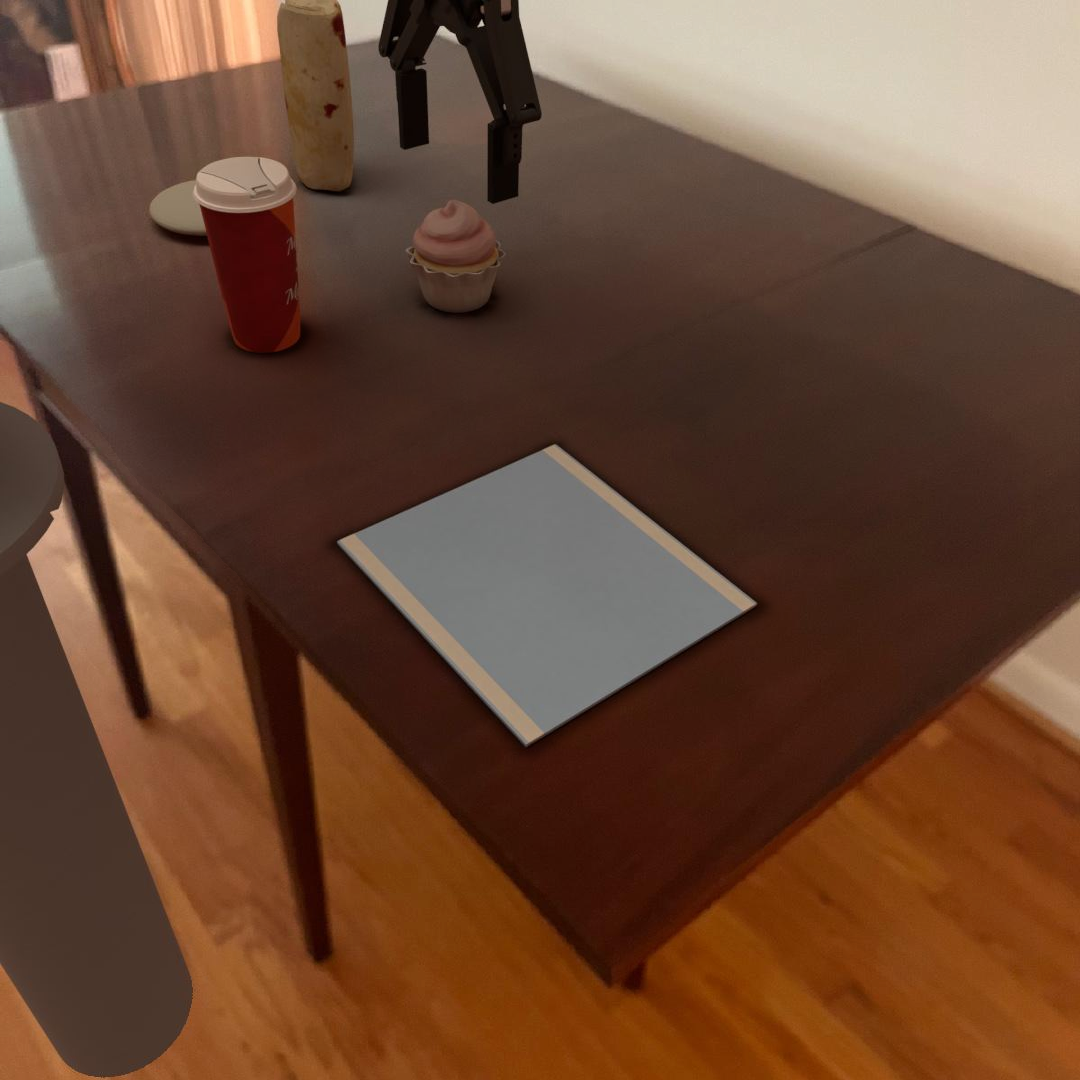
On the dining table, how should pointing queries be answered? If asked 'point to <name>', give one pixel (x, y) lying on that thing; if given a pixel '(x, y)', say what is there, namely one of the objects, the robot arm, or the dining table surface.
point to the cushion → (178, 210)
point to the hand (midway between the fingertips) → (456, 171)
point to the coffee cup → (253, 248)
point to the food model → (317, 91)
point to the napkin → (544, 588)
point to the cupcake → (455, 258)
